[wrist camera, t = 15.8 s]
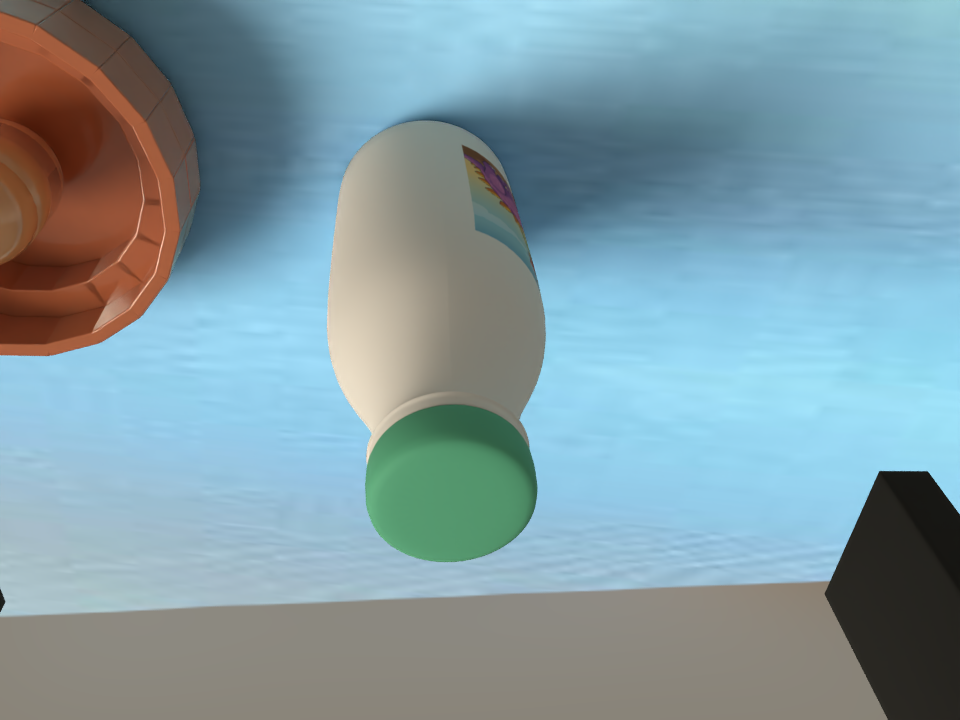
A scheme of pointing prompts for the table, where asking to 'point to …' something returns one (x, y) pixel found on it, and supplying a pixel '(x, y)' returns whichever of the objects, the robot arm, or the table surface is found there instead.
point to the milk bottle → (437, 339)
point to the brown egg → (25, 187)
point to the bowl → (92, 176)
